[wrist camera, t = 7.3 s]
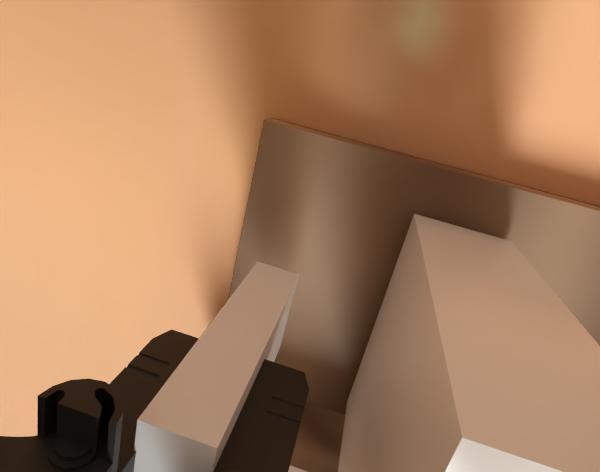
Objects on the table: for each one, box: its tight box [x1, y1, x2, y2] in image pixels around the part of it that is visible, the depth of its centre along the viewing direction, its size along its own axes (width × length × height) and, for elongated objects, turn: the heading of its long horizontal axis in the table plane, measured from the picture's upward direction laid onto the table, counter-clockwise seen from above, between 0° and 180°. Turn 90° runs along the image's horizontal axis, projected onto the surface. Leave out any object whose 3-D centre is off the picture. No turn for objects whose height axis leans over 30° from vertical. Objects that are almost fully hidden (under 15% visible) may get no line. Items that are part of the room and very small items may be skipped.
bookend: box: [338, 214, 600, 472], centre depth 10 cm, size 3×8×9 cm, turn 167°
